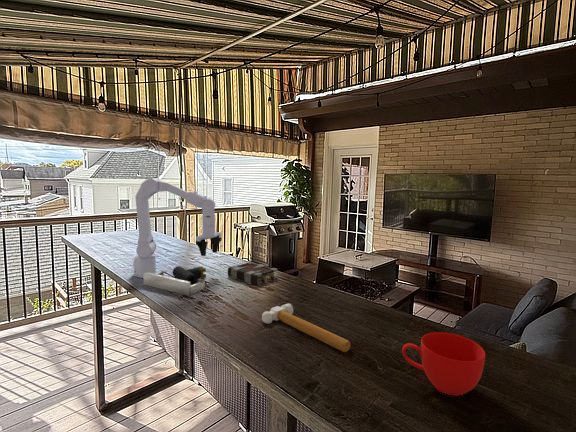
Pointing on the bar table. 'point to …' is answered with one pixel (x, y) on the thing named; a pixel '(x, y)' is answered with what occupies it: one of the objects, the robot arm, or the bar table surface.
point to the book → (252, 273)
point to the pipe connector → (189, 274)
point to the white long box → (172, 283)
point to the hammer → (305, 326)
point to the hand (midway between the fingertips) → (209, 254)
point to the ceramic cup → (449, 362)
